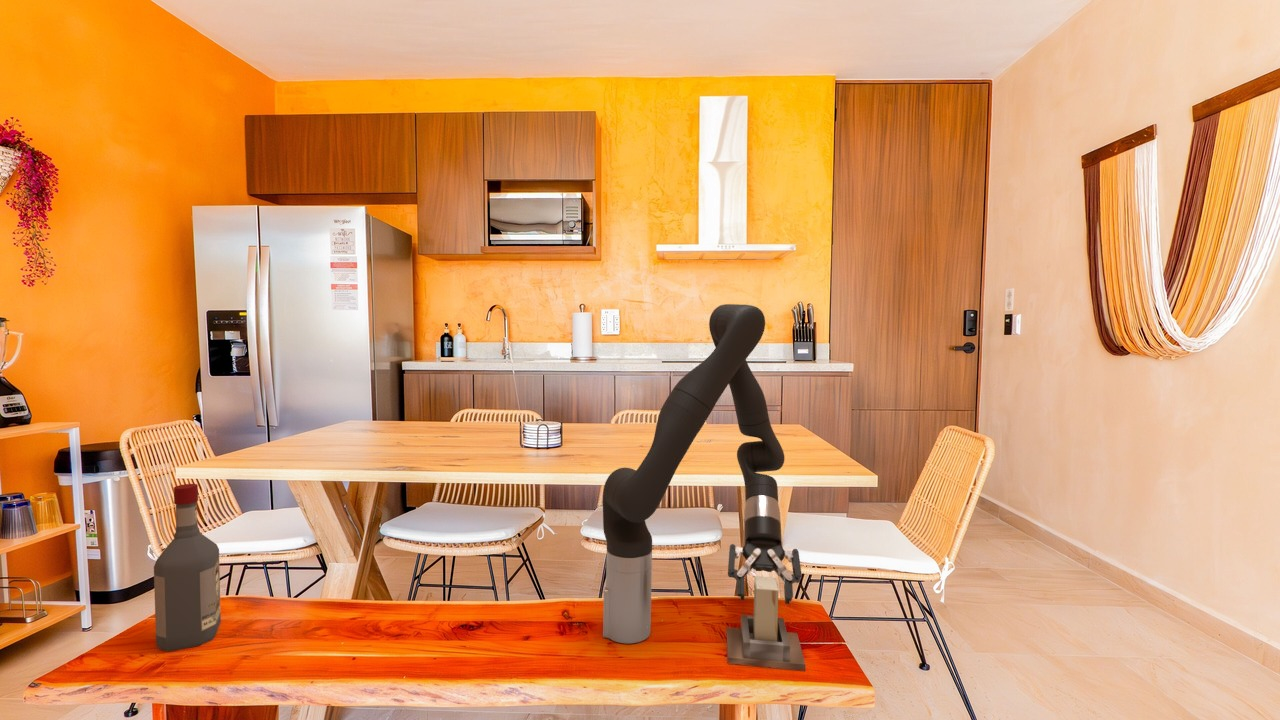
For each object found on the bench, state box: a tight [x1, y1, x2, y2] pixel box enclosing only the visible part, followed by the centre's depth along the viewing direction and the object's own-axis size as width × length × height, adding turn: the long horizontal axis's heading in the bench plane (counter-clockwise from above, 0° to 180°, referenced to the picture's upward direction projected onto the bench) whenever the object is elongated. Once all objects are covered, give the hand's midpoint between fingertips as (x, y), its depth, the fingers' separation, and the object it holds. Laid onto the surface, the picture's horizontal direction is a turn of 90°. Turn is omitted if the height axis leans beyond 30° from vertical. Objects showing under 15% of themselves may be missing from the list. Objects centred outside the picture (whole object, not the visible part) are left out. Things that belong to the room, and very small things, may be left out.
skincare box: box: [753, 575, 780, 642], centre depth 112 cm, size 6×4×12 cm
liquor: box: [153, 483, 222, 652], centre depth 112 cm, size 9×9×30 cm
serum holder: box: [726, 614, 806, 672], centre depth 112 cm, size 14×11×4 cm
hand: (764, 600), depth 112 cm, fingers open, 8 cm apart
